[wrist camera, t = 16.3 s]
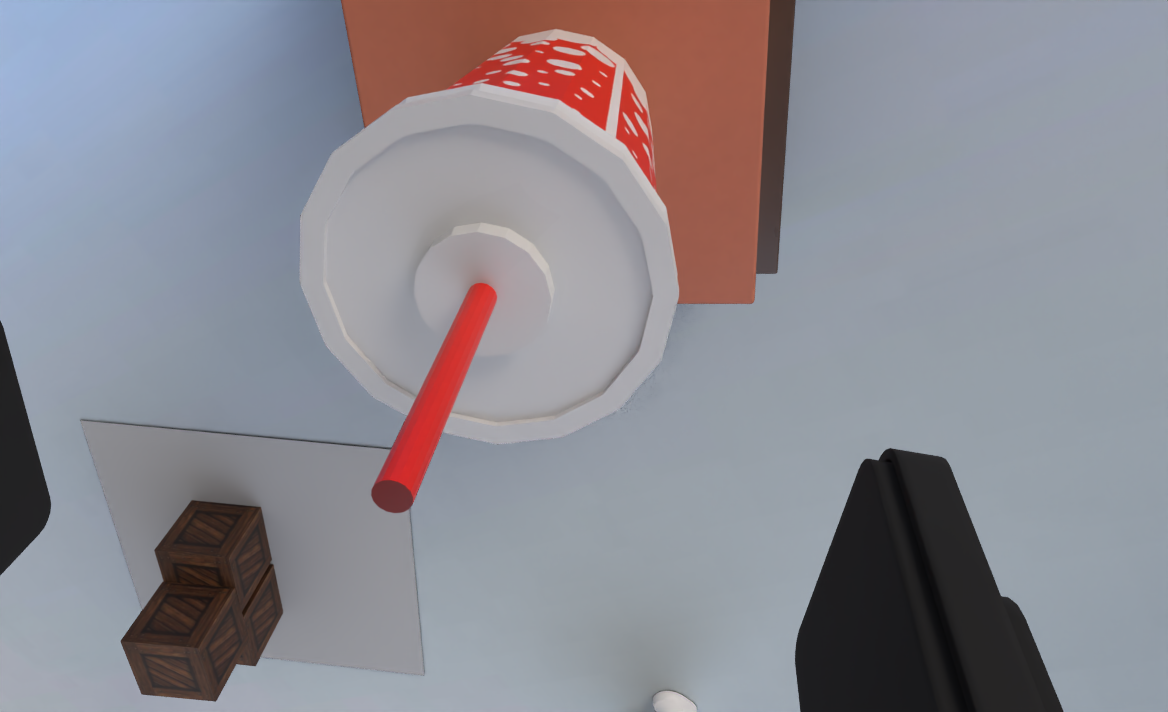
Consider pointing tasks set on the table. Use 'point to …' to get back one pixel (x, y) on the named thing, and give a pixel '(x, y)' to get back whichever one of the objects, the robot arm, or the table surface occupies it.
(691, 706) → the flower shoulder figurine
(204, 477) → the stack of crates
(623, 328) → the beverage cup
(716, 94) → the stack top
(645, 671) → the table surface
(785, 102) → the stack base
